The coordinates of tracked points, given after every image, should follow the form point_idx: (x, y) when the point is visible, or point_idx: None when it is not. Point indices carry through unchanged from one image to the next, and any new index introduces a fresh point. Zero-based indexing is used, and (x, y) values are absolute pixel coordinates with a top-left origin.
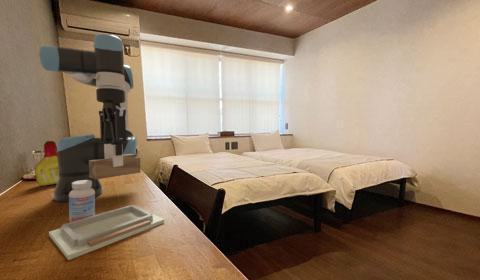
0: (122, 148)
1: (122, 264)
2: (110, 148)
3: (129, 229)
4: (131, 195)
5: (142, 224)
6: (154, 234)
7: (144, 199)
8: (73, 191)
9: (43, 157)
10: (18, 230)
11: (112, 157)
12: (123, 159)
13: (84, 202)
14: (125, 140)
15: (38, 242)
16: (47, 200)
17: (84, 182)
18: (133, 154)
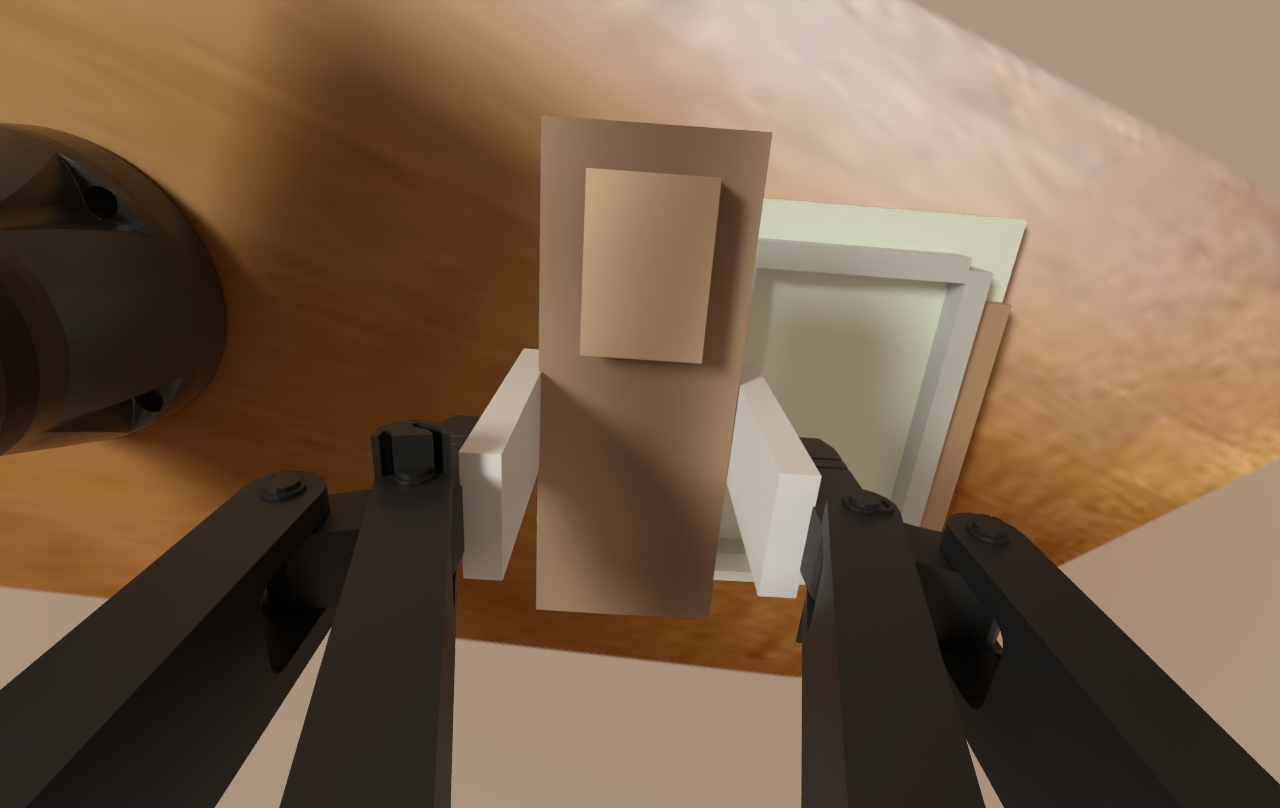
0: (804, 448)
1: (1095, 503)
2: (514, 474)
3: (978, 410)
4: (368, 30)
5: (997, 350)
6: (1055, 327)
7: (557, 26)
8: None
9: None
10: (497, 612)
11: (733, 498)
12: (740, 366)
13: None
14: (1017, 546)
15: None
16: (73, 446)
17: None
18: (697, 197)
